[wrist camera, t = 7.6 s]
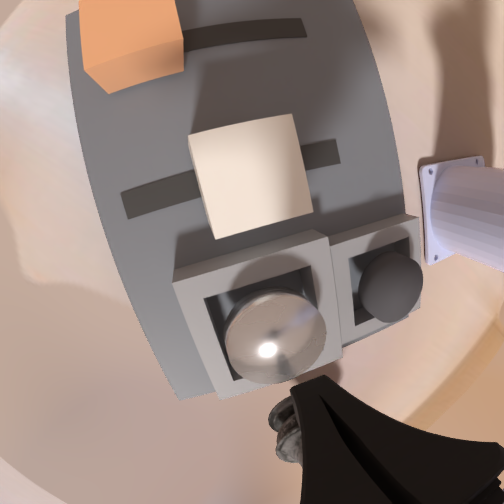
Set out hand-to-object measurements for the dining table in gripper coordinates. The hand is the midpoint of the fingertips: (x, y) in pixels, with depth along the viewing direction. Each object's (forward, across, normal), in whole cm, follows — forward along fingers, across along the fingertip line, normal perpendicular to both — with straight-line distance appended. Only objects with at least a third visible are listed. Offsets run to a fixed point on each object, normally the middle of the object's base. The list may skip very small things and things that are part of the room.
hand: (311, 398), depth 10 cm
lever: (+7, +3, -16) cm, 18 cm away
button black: (+6, -8, 0) cm, 10 cm away
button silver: (+6, 0, 0) cm, 6 cm away
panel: (+9, -2, -8) cm, 12 cm away
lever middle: (+7, 0, -8) cm, 11 cm away
